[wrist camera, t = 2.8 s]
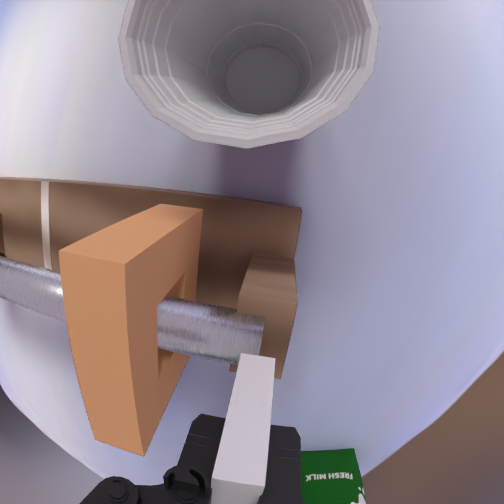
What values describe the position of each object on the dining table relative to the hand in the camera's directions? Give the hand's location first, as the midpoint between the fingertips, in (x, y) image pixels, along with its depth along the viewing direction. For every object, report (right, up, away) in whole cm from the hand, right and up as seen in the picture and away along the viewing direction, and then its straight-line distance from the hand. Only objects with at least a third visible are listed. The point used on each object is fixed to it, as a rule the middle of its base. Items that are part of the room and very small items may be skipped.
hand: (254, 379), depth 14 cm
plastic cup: (+1, +18, +8) cm, 20 cm away
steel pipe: (-14, +4, +6) cm, 15 cm away
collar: (-6, +4, +9) cm, 11 cm away
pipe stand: (-13, +6, +13) cm, 19 cm away
